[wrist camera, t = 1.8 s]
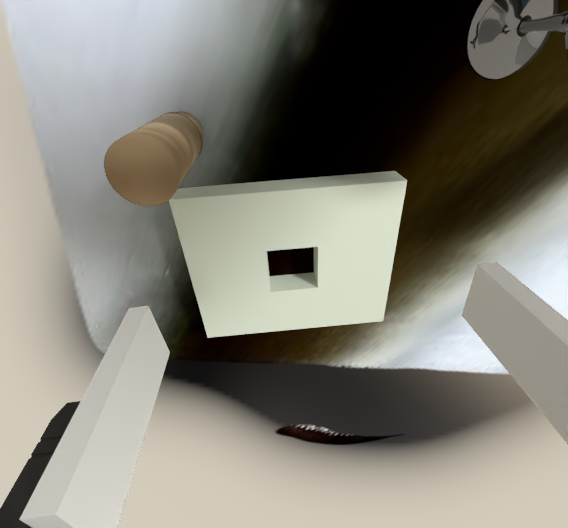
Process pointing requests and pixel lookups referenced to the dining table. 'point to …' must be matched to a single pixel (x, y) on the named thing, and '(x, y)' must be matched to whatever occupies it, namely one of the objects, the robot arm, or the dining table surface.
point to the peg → (154, 158)
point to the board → (290, 235)
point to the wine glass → (511, 34)
